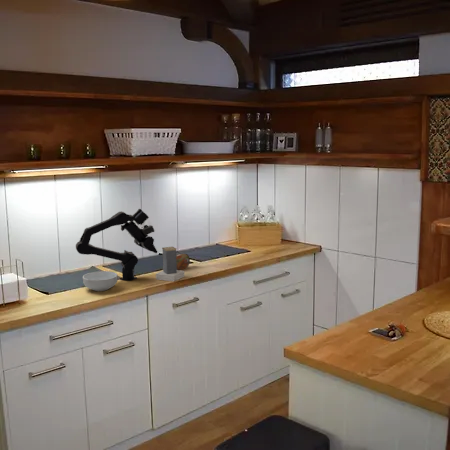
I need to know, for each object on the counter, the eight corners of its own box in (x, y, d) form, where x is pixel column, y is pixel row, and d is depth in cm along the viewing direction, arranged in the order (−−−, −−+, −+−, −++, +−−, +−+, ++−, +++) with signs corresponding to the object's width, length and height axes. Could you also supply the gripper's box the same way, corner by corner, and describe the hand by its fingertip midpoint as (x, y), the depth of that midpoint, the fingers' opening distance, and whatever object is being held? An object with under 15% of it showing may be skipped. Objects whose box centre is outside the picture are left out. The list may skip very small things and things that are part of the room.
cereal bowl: (76, 289, 272) (75, 275, 271) (104, 282, 284) (104, 269, 283) (96, 296, 260) (95, 281, 259) (124, 288, 272) (124, 274, 271)
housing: (166, 274, 288) (166, 249, 286) (162, 271, 293) (162, 247, 291) (177, 272, 290) (176, 248, 288) (173, 270, 295) (172, 246, 293)
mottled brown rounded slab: (172, 272, 304) (172, 257, 303) (168, 271, 306) (168, 256, 305) (190, 267, 316) (190, 252, 315) (186, 266, 318) (185, 252, 317)
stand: (174, 281, 285) (173, 275, 284) (155, 279, 289) (155, 273, 289) (184, 276, 295) (184, 271, 294) (166, 274, 299) (166, 269, 299)
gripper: (150, 221, 281) (170, 242, 286) (140, 219, 298) (159, 239, 303) (135, 236, 278) (155, 258, 283) (125, 233, 295) (145, 253, 300)
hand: (154, 251), depth 293 cm, fingers open, 9 cm apart
